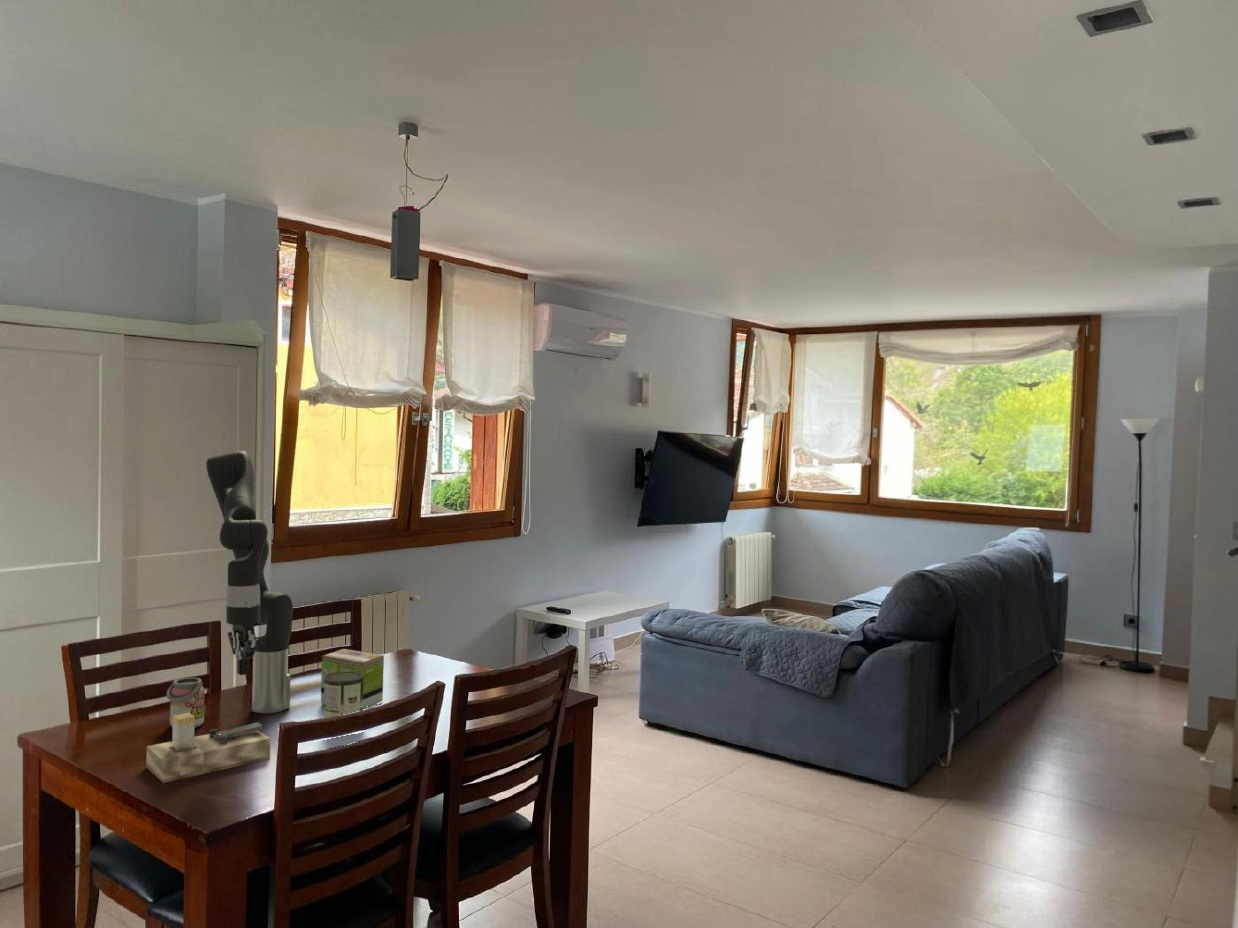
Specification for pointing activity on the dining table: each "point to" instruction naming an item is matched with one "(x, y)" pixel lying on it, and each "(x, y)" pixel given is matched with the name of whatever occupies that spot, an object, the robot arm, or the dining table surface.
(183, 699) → the beverage can
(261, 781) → the dining table surface
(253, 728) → the lever
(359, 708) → the coffee can
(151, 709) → the dining table surface
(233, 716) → the dining table surface
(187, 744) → the pin
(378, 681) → the tea box
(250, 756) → the block
